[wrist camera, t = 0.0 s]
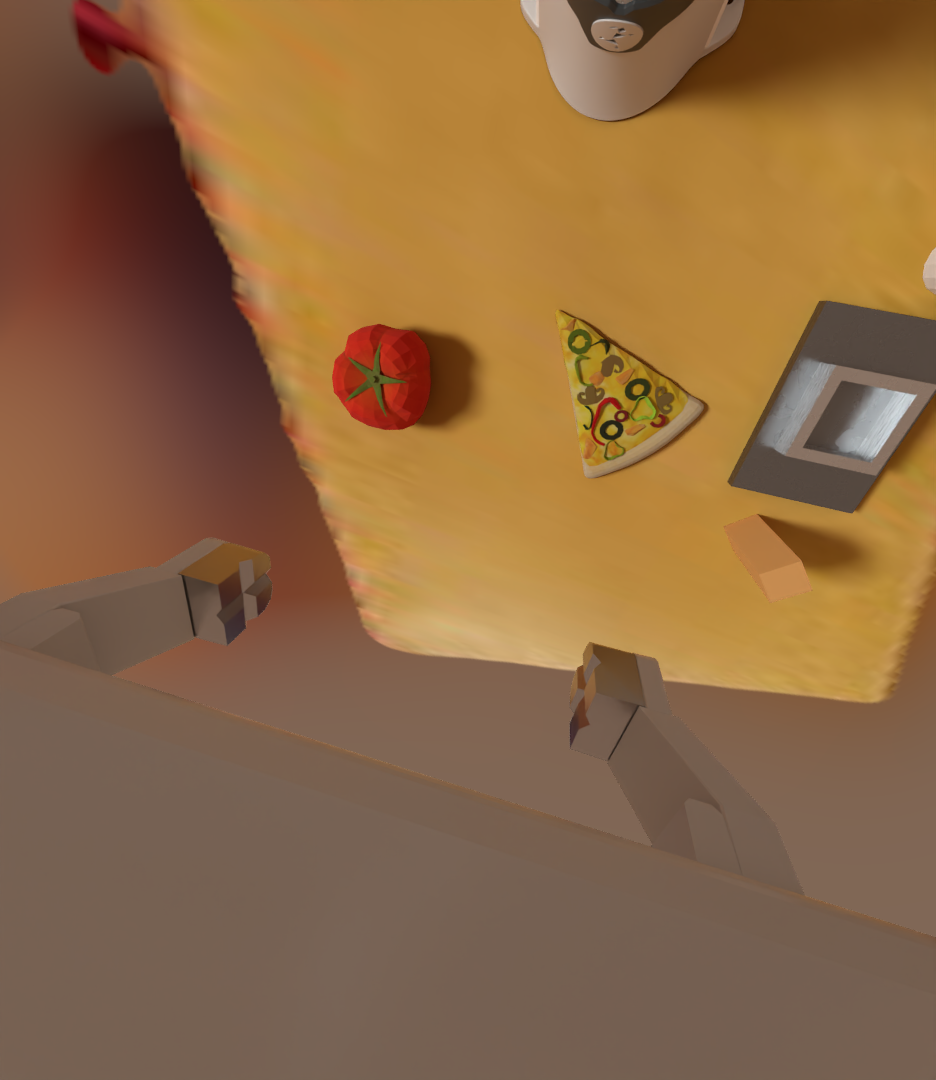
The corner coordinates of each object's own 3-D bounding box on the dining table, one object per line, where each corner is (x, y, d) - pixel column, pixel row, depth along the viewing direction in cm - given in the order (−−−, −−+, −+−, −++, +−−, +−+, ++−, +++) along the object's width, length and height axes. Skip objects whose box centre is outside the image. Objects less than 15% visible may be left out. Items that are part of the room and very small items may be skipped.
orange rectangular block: (723, 526, 56) (758, 574, 45) (756, 514, 54) (801, 560, 44) (733, 550, 57) (770, 602, 46) (766, 539, 55) (812, 590, 45)
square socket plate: (819, 301, 43) (843, 299, 39) (967, 328, 42) (1008, 329, 38) (727, 481, 53) (740, 494, 49) (845, 508, 52) (867, 524, 48)
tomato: (391, 440, 60) (366, 457, 52) (334, 361, 56) (299, 367, 49) (463, 389, 55) (446, 401, 47) (406, 298, 51) (378, 295, 44)
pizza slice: (593, 484, 57) (594, 492, 55) (503, 353, 52) (500, 355, 50) (708, 416, 51) (716, 421, 48) (619, 257, 46) (622, 254, 43)
